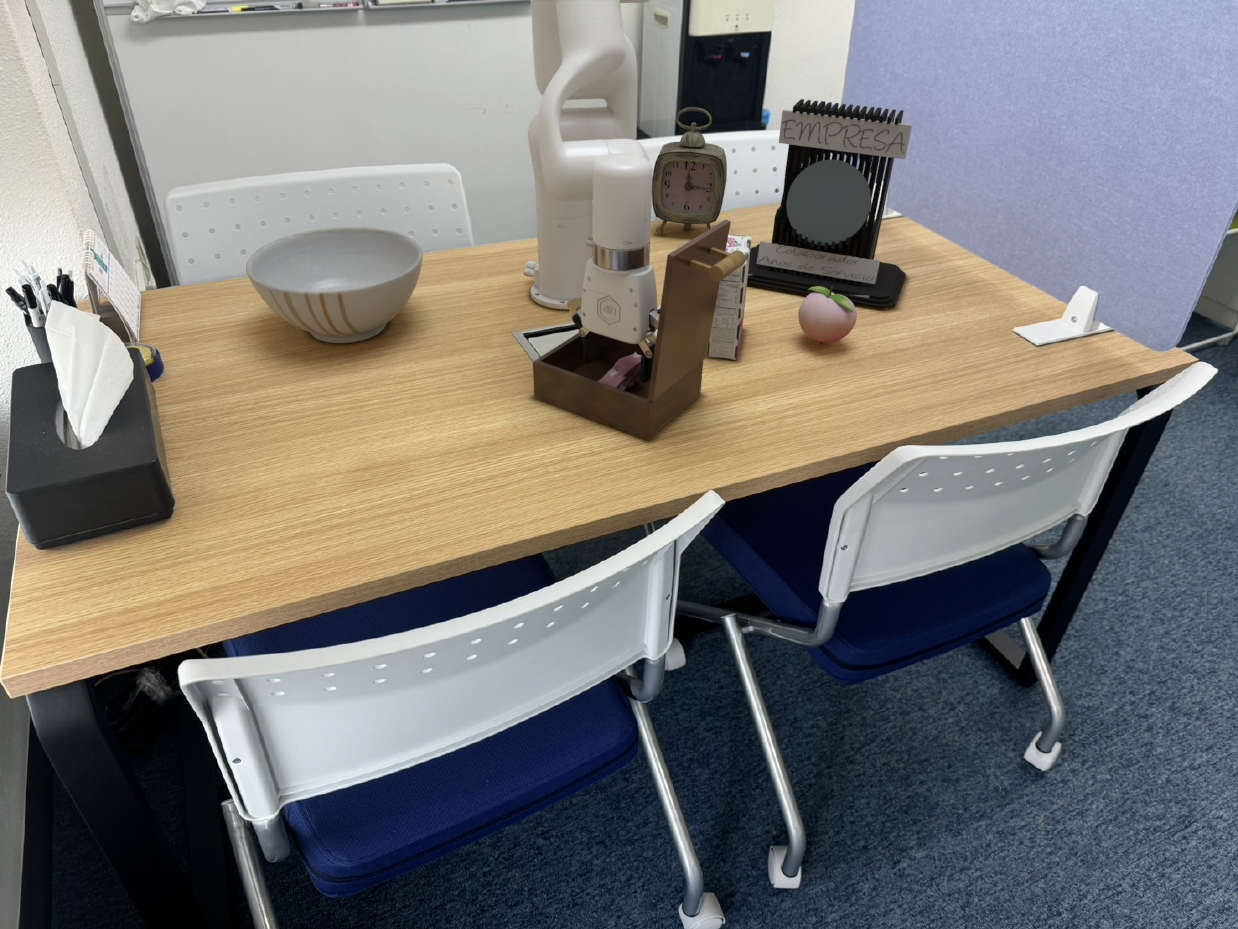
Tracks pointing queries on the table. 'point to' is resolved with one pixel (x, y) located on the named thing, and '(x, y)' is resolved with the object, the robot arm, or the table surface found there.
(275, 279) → the decorative bowl
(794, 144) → the award
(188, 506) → the table surface
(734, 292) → the candy bar box
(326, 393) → the table surface
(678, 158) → the tabletop clock
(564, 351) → the chest
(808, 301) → the decorative fruit
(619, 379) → the video game controller
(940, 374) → the table surface
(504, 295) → the table surface
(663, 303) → the chest lid
